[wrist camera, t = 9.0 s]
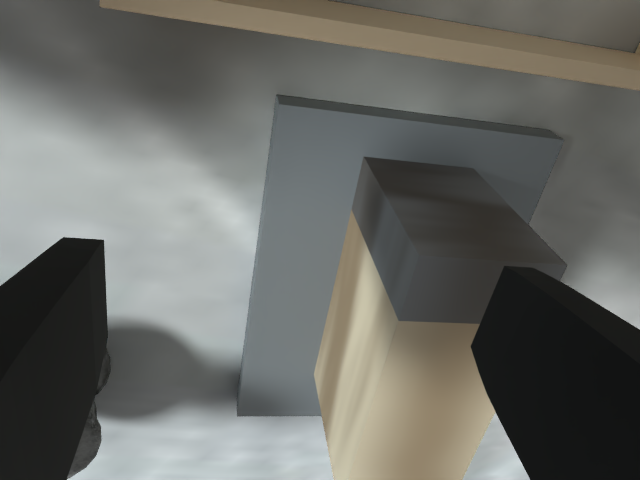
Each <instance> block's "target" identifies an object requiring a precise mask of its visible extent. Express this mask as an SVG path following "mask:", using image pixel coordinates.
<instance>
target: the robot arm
mask: <svg viewBox="0 0 640 480" xmlns="http://www.w3.org/2000/svg"><path fill="white" fill-rule="evenodd" d="M107 338H108V330H107V305H106V281H105V256H104V240H97V239H81V238H65V237H63V238H62V239H60V240H59V241H58V242H56V243H55V244H54V245H52V246H51V247H50V248H49V249H47V250H46V251H45V252H43V253H42V254H41V255H40V256H38V257H37V258H36V259H34V260H33V261H32V262H31V263H29V264H28V265H27V266H26V267H24V268H23V269H22V270H20V271H19V272H18V273H17V274H15V275H14V276H13V277H11V278H10V279H9V280H8V281H6V282H5V283H4V284H2V285H1V286H0V480H67V477H68V474H69V471H70V468H71V465H72V463H73V460H74V457H75V454H76V451H77V448H78V445H79V442H80V439H81V436H82V433H83V430H84V427H85V424H86V421H87V418H88V415H89V412H90V410H91V407H92V404H93V400H94V397H95V394H96V391H97V387H98V382H99V377H100V373H101V368H102V363H103V358H104V353H105V348H106V343H107ZM471 349H472V353H473V356H474V359H475V362H476V365H477V368H478V371H479V374H480V377H481V380H482V382H483V385H484V388H485V390H486V393H487V395H488V397H489V399H490V401H491V404H492V406H493V408H494V410H495V412H496V414H497V416H498V418H499V420H500V421H501V423H502V425H503V427H504V429H505V431H506V433H507V435H508V437H509V439H510V441H511V443H512V445H513V447H514V449H515V451H516V453H517V455H518V457H519V458H520V460H521V462H522V464H523V466H524V468H525V470H526V472H527V474H528V476H529V478H530V480H640V330H639V329H638V328H636V327H634V326H633V325H631V324H629V323H628V322H626V321H624V320H623V319H621V318H620V317H618V316H616V315H615V314H613V313H611V312H610V311H608V310H607V309H605V308H603V307H602V306H600V305H598V304H597V303H595V302H594V301H592V300H590V299H589V298H587V297H585V296H584V295H582V294H580V293H579V292H577V291H575V290H574V289H572V288H570V287H569V286H567V285H565V284H563V283H562V282H560V281H558V280H556V279H555V278H553V277H551V276H549V275H547V274H545V273H543V272H541V271H539V270H537V269H535V268H531V267H516V266H504V268H503V270H502V272H501V275H500V277H499V280H498V282H497V284H496V287H495V289H494V291H493V294H492V296H491V299H490V301H489V303H488V306H487V308H486V311H485V313H484V315H483V318H482V320H481V323H480V325H479V327H478V330H477V332H476V334H475V337H474V339H473V342H472V344H471Z"/></svg>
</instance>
